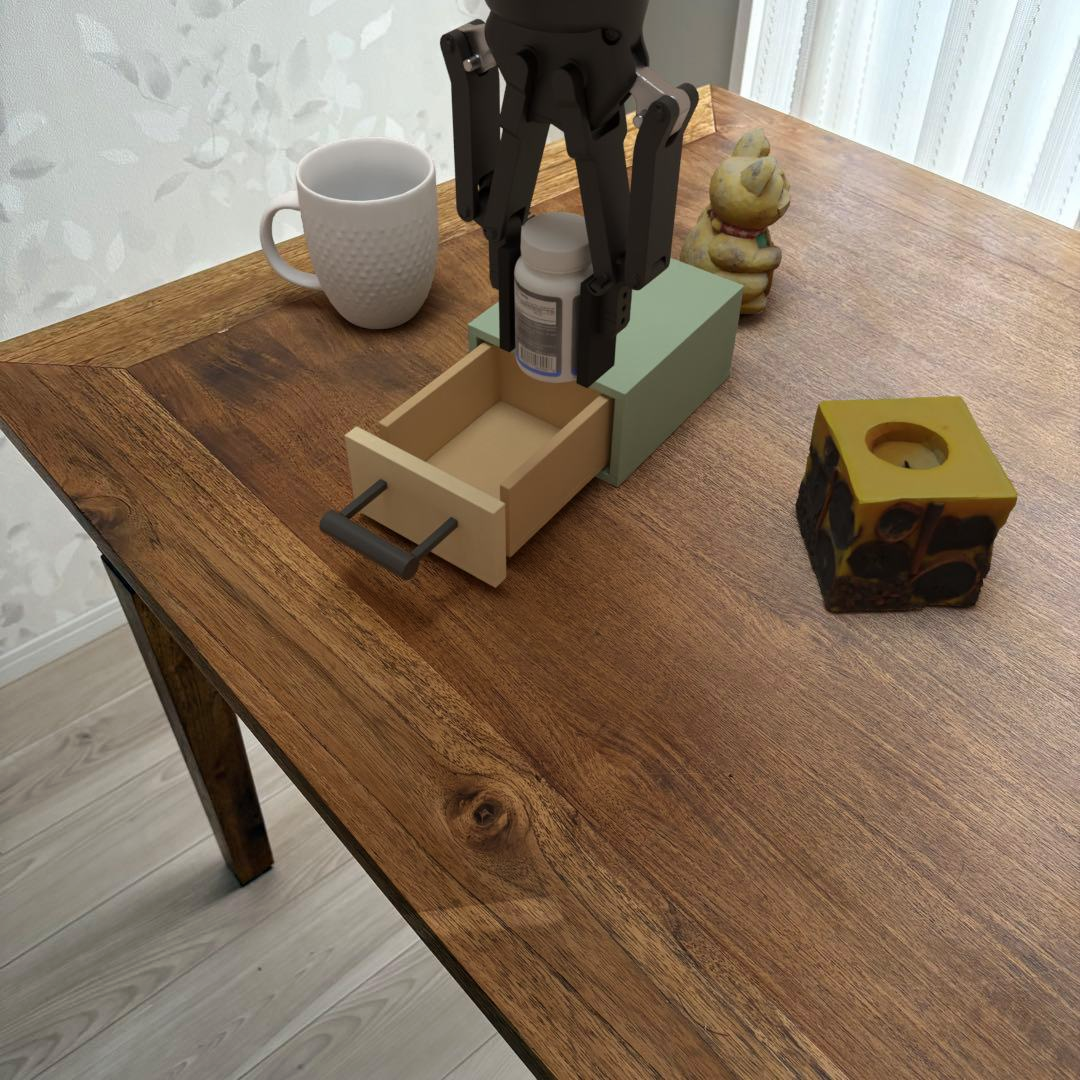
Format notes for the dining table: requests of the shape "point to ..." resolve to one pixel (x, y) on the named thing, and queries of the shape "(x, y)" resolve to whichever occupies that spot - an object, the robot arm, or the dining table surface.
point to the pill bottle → (550, 295)
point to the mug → (364, 227)
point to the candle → (901, 503)
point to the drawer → (472, 465)
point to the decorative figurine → (742, 221)
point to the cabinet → (658, 358)
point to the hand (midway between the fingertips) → (556, 355)
